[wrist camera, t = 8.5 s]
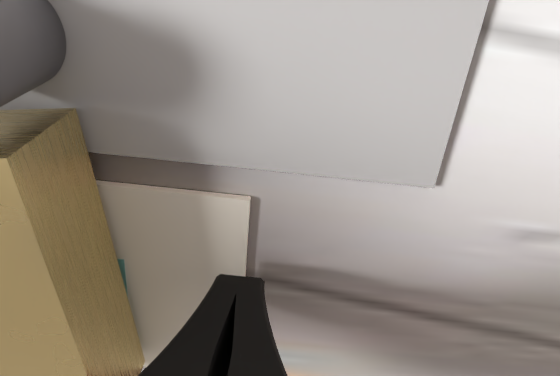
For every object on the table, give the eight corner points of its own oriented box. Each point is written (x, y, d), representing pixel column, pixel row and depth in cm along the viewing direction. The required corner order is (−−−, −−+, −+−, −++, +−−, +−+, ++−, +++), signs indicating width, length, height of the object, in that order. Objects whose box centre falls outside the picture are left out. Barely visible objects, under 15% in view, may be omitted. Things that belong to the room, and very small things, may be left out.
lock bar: (-19, 110, 12) (-115, 161, 9) (75, 107, 11) (6, 158, 9) (75, 360, 16) (30, 443, 13) (145, 361, 16) (112, 444, 13)
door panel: (-57, 340, 17) (-154, 446, 13) (-240, -138, 10) (-549, -182, 6) (373, 385, 17) (391, 503, 13) (502, -62, 10) (614, -62, 6)
